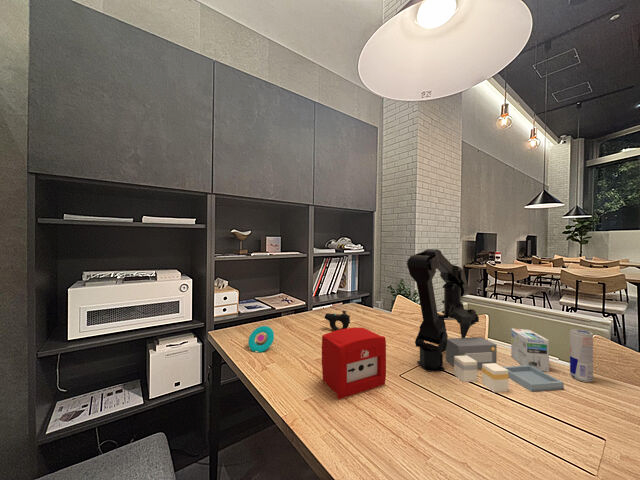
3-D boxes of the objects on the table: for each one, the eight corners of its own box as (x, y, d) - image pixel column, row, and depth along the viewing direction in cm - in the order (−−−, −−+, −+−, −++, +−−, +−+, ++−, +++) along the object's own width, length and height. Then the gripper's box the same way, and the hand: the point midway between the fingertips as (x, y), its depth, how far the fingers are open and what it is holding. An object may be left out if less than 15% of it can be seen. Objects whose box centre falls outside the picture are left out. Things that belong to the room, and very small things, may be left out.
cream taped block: (494, 392, 73) (494, 371, 73) (481, 383, 78) (481, 363, 78) (508, 391, 74) (508, 370, 74) (495, 382, 78) (495, 363, 78)
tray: (531, 391, 73) (531, 384, 73) (500, 373, 84) (500, 366, 84) (563, 389, 75) (563, 382, 75) (529, 371, 85) (529, 365, 85)
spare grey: (463, 382, 78) (463, 362, 78) (453, 374, 83) (453, 355, 83) (477, 381, 79) (477, 361, 79) (466, 373, 83) (466, 355, 84)
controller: (348, 334, 118) (349, 312, 118) (323, 331, 122) (323, 310, 123) (350, 331, 122) (351, 310, 122) (326, 328, 126) (326, 308, 127)
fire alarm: (340, 400, 69) (340, 344, 69) (321, 381, 78) (321, 332, 78) (386, 385, 76) (386, 335, 76) (364, 369, 86) (364, 324, 86)
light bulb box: (550, 372, 85) (550, 339, 85) (526, 370, 86) (526, 338, 86) (530, 358, 95) (530, 329, 95) (510, 356, 96) (510, 327, 97)
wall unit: (459, 371, 85) (459, 346, 85) (445, 360, 93) (445, 338, 93) (497, 368, 87) (497, 344, 87) (480, 358, 95) (480, 336, 95)
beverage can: (586, 376, 82) (586, 329, 82) (597, 384, 77) (597, 334, 77) (566, 373, 84) (566, 327, 84) (576, 381, 79) (575, 332, 79)
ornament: (280, 336, 106) (261, 326, 110) (278, 331, 103) (258, 321, 106) (265, 360, 100) (245, 349, 103) (263, 356, 97) (242, 345, 100)
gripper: (442, 304, 91) (442, 348, 91) (490, 303, 93) (490, 346, 93) (425, 298, 102) (425, 337, 102) (468, 297, 104) (468, 335, 104)
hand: (452, 339), depth 100 cm, fingers open, 9 cm apart
